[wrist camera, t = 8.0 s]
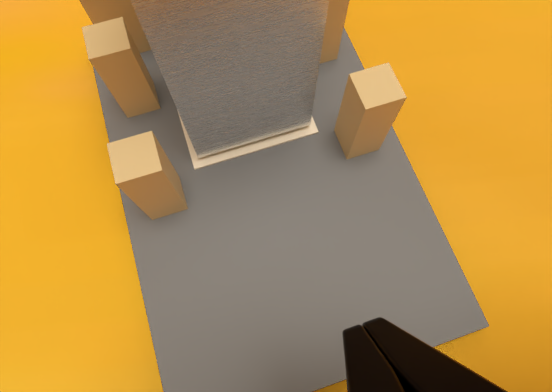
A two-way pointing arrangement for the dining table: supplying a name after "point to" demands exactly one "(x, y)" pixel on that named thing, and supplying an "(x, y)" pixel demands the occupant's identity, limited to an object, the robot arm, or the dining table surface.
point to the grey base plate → (273, 223)
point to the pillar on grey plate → (237, 65)
